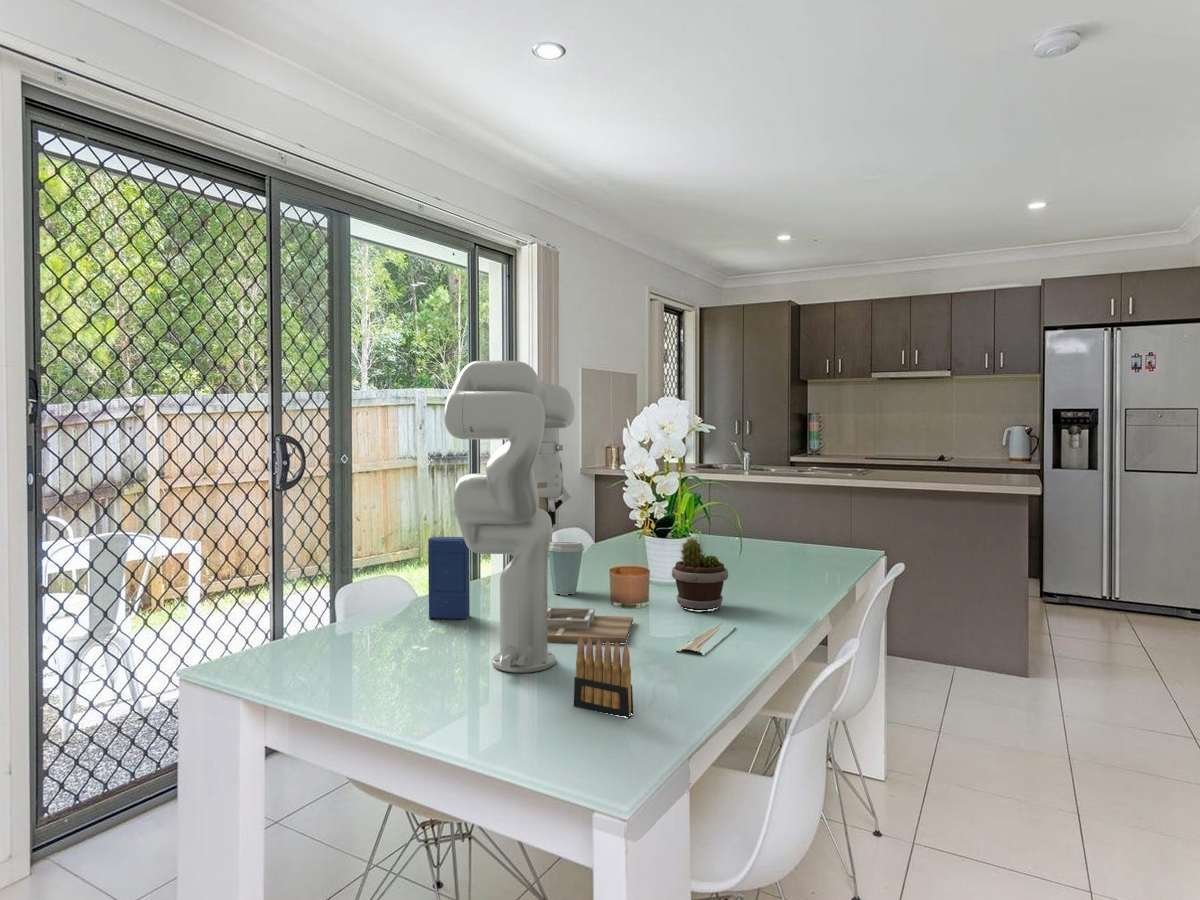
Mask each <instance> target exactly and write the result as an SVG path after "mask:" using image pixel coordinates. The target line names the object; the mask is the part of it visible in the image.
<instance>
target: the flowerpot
mask: <svg viewBox="0 0 1200 900" xmlns="http://www.w3.org/2000/svg"><path fill="white" fill-rule="evenodd" d="M687 536H688V537H686V538H687V539H685V542H683V543H682V542H681V543H680V546H681V549H680V552H681V556H680V557H679V558H680V560H679V561H677V562H676V563H675V566H674V567H672V568H671V569H672V570H671V577H672V578H673V579H674V580H675V584H676V588H677V591H678V594H677V595H676V602H677V604H678V605H680V608H681V607H683V608H687V609H693V610H708V609H713V608H717V607H720V606H721V605H722V602H723V600H724V597H723V595H722V591H723V587H724V581H727V580H728V577H729V571H728V568H726V567H725V564H724V563H723V562H721V561H719V557H717V555H714V554H715V553H710V554H709V555H706V553H703V552H704V550H703V549H702V547H703V545H702V543H701V542H700V541H699V540H697V538H698V537H696V536H693V535H692V534H690V536H689V535H687Z"/></svg>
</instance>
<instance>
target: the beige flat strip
mask: <svg viewBox="0 0 1200 900" xmlns="http://www.w3.org/2000/svg"><path fill="white" fill-rule="evenodd" d="M725 623H726V622H722V623H720V624H719V625H717V626H716V627H715V628H713V629H711V630H708V631H707V632H706V633H703V634H700V635H699V636H698V637H696V638H695V639H694V640H692V641H691V642H689V643H688V644H686V643H685V644H686V645H685V646H684V647H682V646H681V647H682V648H680V647H679V648H680V649H682V651H684V650H685V649H686V650H687V651H688V650H689V651H693V652H696V651H697V653H699V652H698V651H700V650H701V648H702V647H703V646H704V645H705V644H706V643H707V642H708V641H709V639H710V638H711V637H712V636H714V634H715V633H716V632H717V631H718V630H719V629H720V628H719V627H721V626H722V625H723V624H725ZM679 648H678V649H679ZM680 649H679V650H680Z"/></svg>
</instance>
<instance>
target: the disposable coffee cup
mask: <svg viewBox="0 0 1200 900" xmlns="http://www.w3.org/2000/svg"><path fill="white" fill-rule="evenodd" d="M584 551H585V547H584V545H583V542H582V541H580V542H579V541H563V540H562V541H560V540H559V541H550V547H549V555H548V562H549V568H550V576H551V578H550V579H551V585H552V591H553V594H554V593H555V595H556V594H560V595H559V596H568V595H567V594H573V593H575V594H576V592H577V588H578V582H579V576H580V571H581V565H582V557H583V554H584V553H583V552H584ZM573 595H574V594H573Z"/></svg>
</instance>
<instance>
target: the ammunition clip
mask: <svg viewBox="0 0 1200 900" xmlns="http://www.w3.org/2000/svg"><path fill="white" fill-rule="evenodd" d="M593 645H594V644H592V641H591V638H589V639H588V642H587V643H586V650H585V643H583V639H582V637H581V636H580V638H579V641H578V643H577V651H576V661H575V676H574V682H573V683H574V685H573V689H574V690H573V707H575V708H579V709H583V710H587V709H588V711H591V710H592V711H591V712H596V711H597V712H596V713H600V712H602V713H601V714H604V713H608V714H613V715H619V716H626V717H629V715H631V713H632V714H633V715H634V697H633V696H634V695H633V694H634V692H633V684H632V671H631V670H632V669H631V661H630V659H631V657H630V650H629V646H628V644H627V643H626V644H625V645H623V646H624V647H623V650H622V651H623V652H622V662H621V650H620V645H618V643H617V642H616V644H615V645H614V649H613V654H612V649H611V644H609V641H607V642H606V644H604V645H605V646H604V652H603V646H602V644H601V642H600V640H599V639H598V641H597V644H595V651H594V646H593ZM585 651H586V653H585ZM603 653H604V654H603ZM594 654H595V655H594ZM603 655H604V656H603ZM612 655H613V656H612ZM612 657H613V659H612ZM608 714H607V715H608ZM613 715H612V716H613Z"/></svg>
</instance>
